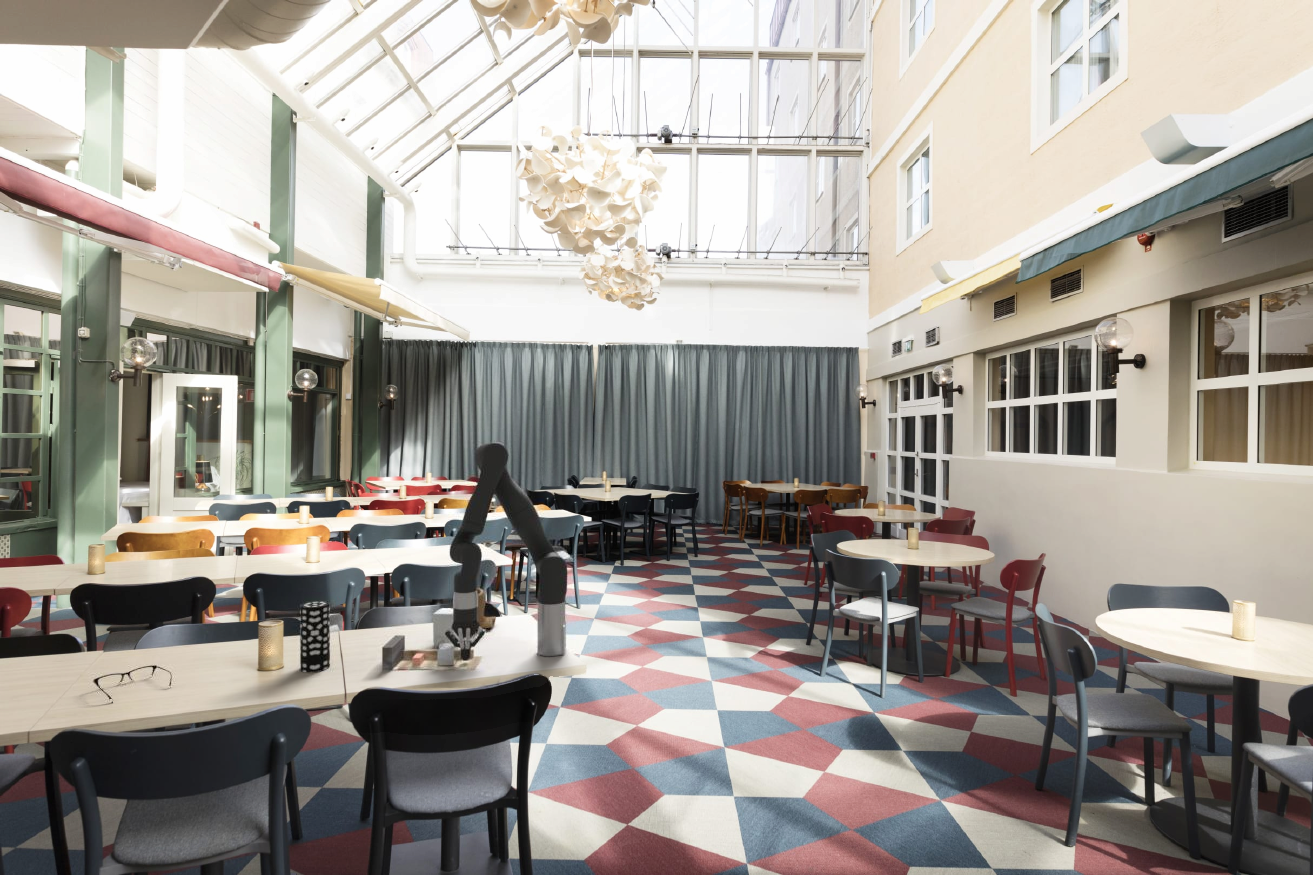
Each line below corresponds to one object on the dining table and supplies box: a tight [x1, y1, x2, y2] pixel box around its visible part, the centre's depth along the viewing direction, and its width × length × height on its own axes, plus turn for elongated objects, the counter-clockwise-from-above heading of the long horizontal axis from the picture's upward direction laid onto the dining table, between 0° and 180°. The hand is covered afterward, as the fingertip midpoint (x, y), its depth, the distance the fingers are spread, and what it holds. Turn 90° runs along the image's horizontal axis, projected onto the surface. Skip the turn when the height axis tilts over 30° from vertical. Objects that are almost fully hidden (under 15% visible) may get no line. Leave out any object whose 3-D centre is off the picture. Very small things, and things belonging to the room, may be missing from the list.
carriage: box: [435, 640, 459, 666], centre depth 218 cm, size 5×6×6 cm
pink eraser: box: [412, 654, 424, 666], centre depth 217 cm, size 2×4×2 cm, turn 3°
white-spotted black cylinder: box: [299, 600, 331, 674], centre depth 217 cm, size 8×8×20 cm
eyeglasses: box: [92, 664, 173, 700], centre depth 199 cm, size 16×16×4 cm
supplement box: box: [432, 607, 459, 647], centre depth 238 cm, size 7×7×13 cm
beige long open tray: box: [381, 634, 484, 672], centre depth 218 cm, size 28×12×8 cm, turn 93°
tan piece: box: [477, 587, 497, 629], centre depth 259 cm, size 15×12×15 cm
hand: (465, 659), depth 218 cm, fingers closed
